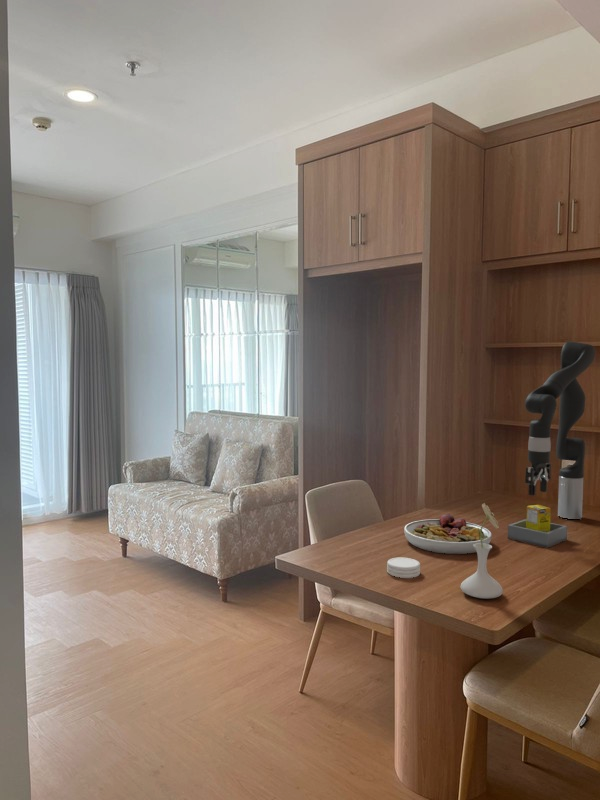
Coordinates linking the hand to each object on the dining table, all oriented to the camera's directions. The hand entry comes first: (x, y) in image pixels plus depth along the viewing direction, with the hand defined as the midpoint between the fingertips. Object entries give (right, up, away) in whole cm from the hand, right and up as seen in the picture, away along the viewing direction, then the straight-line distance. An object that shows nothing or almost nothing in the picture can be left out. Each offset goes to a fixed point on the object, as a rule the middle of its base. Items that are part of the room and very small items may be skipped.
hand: (537, 493), depth 222 cm
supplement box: (0, -16, +1) cm, 16 cm away
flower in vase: (-36, -20, -52) cm, 66 cm away
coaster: (-55, -19, -35) cm, 68 cm away
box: (0, -17, +1) cm, 17 cm away
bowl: (-34, -18, -5) cm, 39 cm away
